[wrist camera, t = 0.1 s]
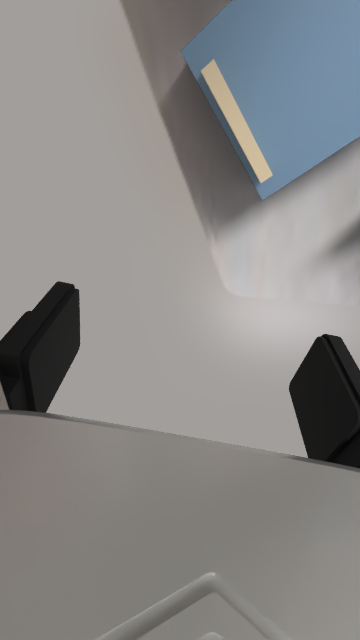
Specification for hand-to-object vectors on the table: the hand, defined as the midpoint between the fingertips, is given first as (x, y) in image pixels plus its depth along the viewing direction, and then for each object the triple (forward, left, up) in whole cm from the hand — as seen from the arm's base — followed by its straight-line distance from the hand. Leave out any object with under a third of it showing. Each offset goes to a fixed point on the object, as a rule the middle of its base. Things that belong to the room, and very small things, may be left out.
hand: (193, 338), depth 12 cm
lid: (-14, -3, -25) cm, 28 cm away
